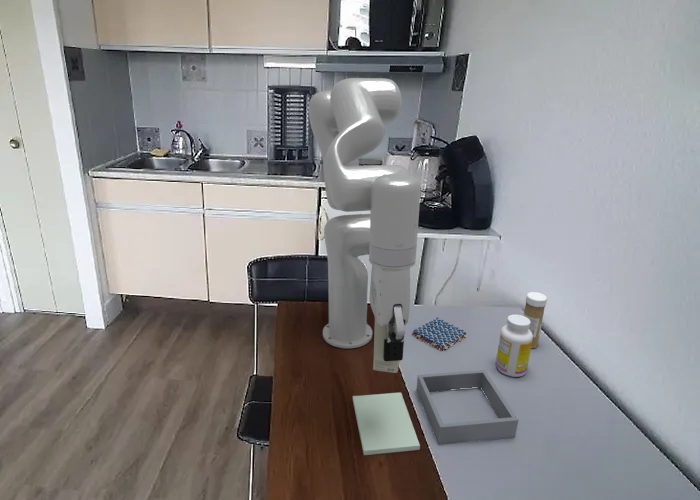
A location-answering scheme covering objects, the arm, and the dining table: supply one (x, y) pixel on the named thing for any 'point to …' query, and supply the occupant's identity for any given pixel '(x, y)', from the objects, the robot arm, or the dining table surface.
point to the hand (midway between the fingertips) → (387, 345)
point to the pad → (384, 424)
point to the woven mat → (439, 333)
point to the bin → (469, 429)
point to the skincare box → (382, 349)
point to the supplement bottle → (514, 346)
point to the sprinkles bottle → (535, 314)
